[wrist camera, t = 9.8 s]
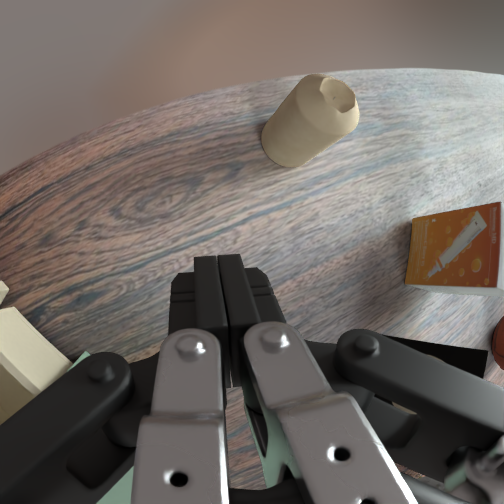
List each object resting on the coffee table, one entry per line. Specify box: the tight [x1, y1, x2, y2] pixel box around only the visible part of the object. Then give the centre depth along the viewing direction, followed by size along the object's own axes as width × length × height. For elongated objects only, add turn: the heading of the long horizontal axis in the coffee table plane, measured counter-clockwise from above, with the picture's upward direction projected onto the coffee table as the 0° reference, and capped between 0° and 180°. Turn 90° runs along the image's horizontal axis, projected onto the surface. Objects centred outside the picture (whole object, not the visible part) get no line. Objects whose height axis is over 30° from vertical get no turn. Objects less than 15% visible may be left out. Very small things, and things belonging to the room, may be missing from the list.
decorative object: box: [374, 335, 488, 414], centre depth 27 cm, size 13×10×10 cm
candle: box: [261, 74, 359, 168], centre depth 24 cm, size 6×6×10 cm
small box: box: [405, 202, 504, 297], centre depth 27 cm, size 8×6×13 cm
